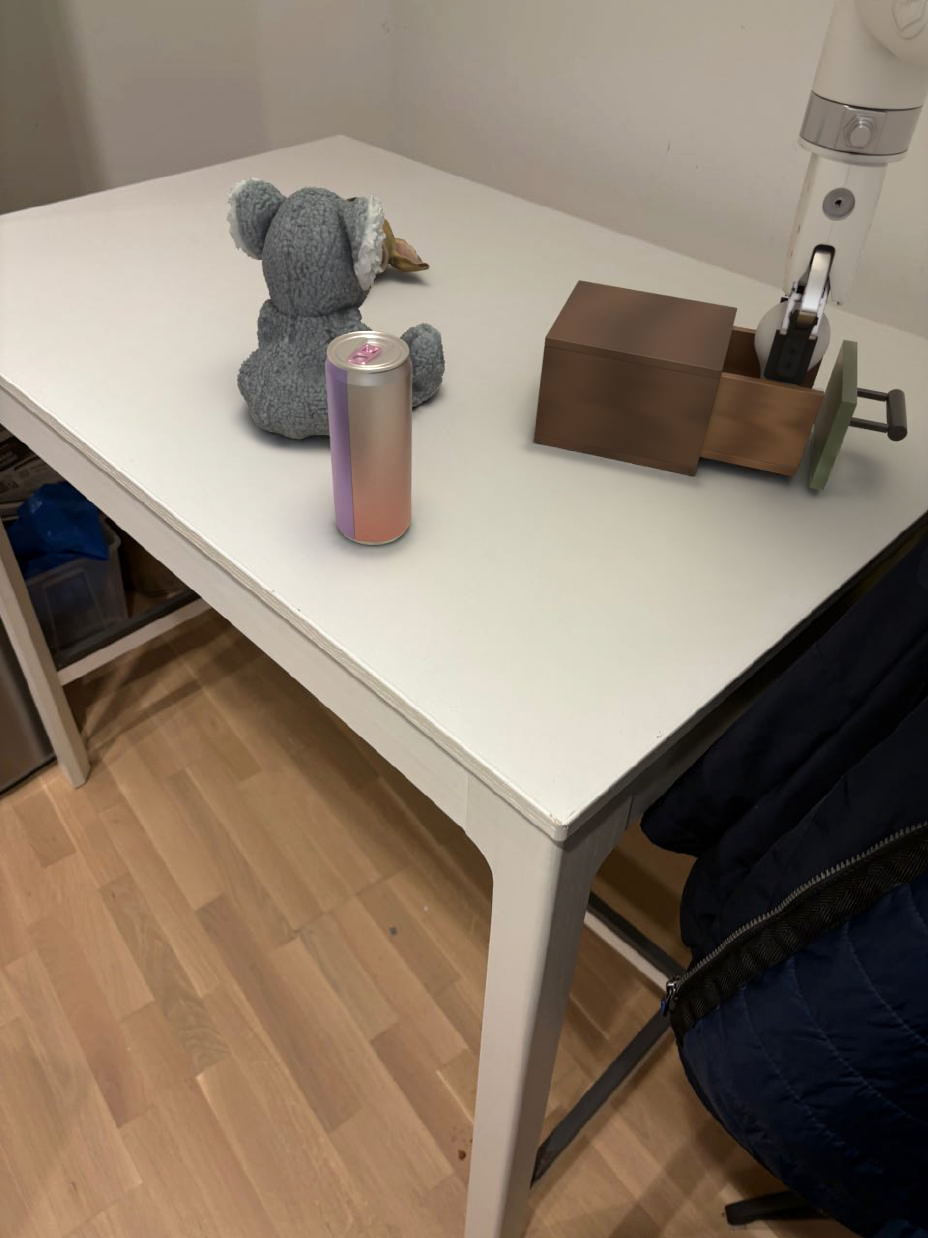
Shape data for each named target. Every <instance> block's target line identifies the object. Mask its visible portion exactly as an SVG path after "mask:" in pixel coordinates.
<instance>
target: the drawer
mask: <svg viewBox="0 0 928 1238" xmlns="http://www.w3.org/2000/svg"><path fill="white" fill-rule="evenodd" d="M755 333H756V329H754V328H749V327H743V326H739V325H733V329H732V333H731V337H730V341H729V345H728V350H727V354H726V358H725V362H724V366H723V370H722V374H721V378H720V382H719V386H718V389H717V393H716V397H715V401H714V404H713V408H712V412H711V416H710V419H709V423H708V427H707V431H706V435H705V438H704V442H703V446H702V450H701V453H700V457H699V458H704V459H709V460H713V461H717V462H723V463H727V464H731V465H737V466H742V467H745V468H751V469H757V470H762V471H766V472H770V473H776V474H781V475H785V476H790V477H796V475H797V473H798V469H799V466H800V464H801V461H802V459H803V456H804V452H805V450H806V447H807V445H808V441H809V439H810V436H811V433H812V445H811V460H810V471H809V472H810V473H809V485H808V486H809V488H810V489H813V490H818V491H824V490H825V488H826V486H827V483H828V480H829V478H830V475H831V473H832V470H833V468H834V466H835V465H834V464H835V462H836V460H837V457H838V454H839V452H840V450H841V446H842V444H843V442H844V439H845V437H846V434H847V432H848V429H849V427H851V428H857V429H860V430H867V431H873V432H877V433H883V434H886V435H887V438H888V439H889V440H891V441H892V442H900V441H903V440H904V439H906V437H907V436H908V433H909V432H908V420H907V419H908V418H907V406H906V394H905V392H904V391H903V390H901V389H900V388H893V389H891V390H889V391H887V392H884V391H878V390H873V389H868V388H862V387H858V351H859V349H858V347H859V346H858V341H854V340H849V339H842V343H841V346H840V348H839V351H838V353H837V357H836V359H835V362H834V364H833V365H834V366H833V367H832V371H831V374H830V376H829V379H828V381H827V382H828V383H827V385H826V388H825V390H820V389H815V388H814V385H815V382H816V380H817V377H818V373H819V371H820V369H821V365H822V362H823V359H824V356H823V357H822V359H821V360H820V361H819V362H818V363H817V364H816V365H815V366H814V367H812V368H811V369H810V370H809V371H807V374H806V377H805V380H804V382H803V383H802V384H801V385H797V386H794V385H789V384H784V383H778V382H773V381H768V380H762V379H760V374H761V366H760V362H759V359H758V356H757V353H756V350H755V342H754V340H755ZM858 398H862V399H867V400H871V401H877V402H883V403H885V413H886V416H885V417H886V423H885V422H879V421H876V420H875V421H874V420H869V419H864V418H859V417H853V416H854V413H855V410H856V408H857V405H858ZM812 430H813V432H812Z"/></svg>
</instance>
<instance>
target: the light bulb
mask: <svg viewBox="0 0 928 1238" xmlns="http://www.w3.org/2000/svg"><path fill="white" fill-rule="evenodd" d="M787 302H788V301H785V302H782V303H780V302H779V303H777V304H776V305H774V306H773V307H771V308H770V309H769V310H768V311H766V312H765V313H764V315H763V316H762V317H761V319H760V320H759V322H758V324H757V326H756V329H755V330H756V333H755V340H754V342H755V350H756V353H757V356H758V359H759V362H760V366H761V374H760V379H762V380H768V381H773V382H778V383H784V384H789V385H794V386H797V385H796V384H790V383H785V382H780V381H774V380H769V379H766V378H765V377H764V370H765V367H766V363H767V360H768V357H769V353H770V350H771V346H772V343H773V339H774V336H775V333H776V329H778V330H780V328H781V324H782V321H783V317H784V313H785V310H786V306H787ZM800 304H801V302H795V306H794V309H793V312H794V311H795V309H797V310H799V306H800ZM831 331H832V330H831V325H830V321H829V318H828V317H827V315H826V313H825V312H824V313H823V316H822V320H821V323H820V326H819V330H818V333H817V336H818V340H817V343H816V346H815V349H814V352H813V355H812V359H811V362H810V365H809V368H808V371H809V370H810V369H811V368H812V367H814V366H815V365H816V364H817V363H818V362H819V361H820V360H821V359H822V357H823V358H824V356H825V355H826V352H827V350H828V349H829V346H830V342H831ZM822 360H823V359H822Z"/></svg>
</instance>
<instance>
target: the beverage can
mask: <svg viewBox="0 0 928 1238" xmlns="http://www.w3.org/2000/svg"><path fill="white" fill-rule="evenodd" d="M325 374H326V389H327V404H328V418H329V433H330V436H329V446H330V447H329V448H330V463H331V476H332V477H331V478H332V490H333V491H332V492H333V505H334V506H333V507H334V508H333V509H334V522H335V524H336V525H335V526H336V527H337V528H338V529H339V531H340V532H341V534H343V535H344V536H345V537H346V538H347V539H348V540H350V541H352V542H354V543H356V544H360V545H366V546H381V545H386V544H389V543H392V542H394V541H396V540H398V539H399V538H401V537H402V536H403V535H404V534H405V533H406V532H407V530H408V528H409V527H410V525H411V523H412V466H413V462H412V461H413V460H412V459H413V456H412V455H413V451H412V449H413V407H412V362H411V359H410V357H409V347H408V345H407V344H406V343H405V342H404V341H403V340H402V339H400V336H397V335H395V334H391V333H388V332H382V331H376V330H373V331H357V332H351V333H347V334H344V335H341V336H339V337H337V338H335V339H334V340H332V341H331V342H330V344H329V345H328V347H327V359H326V362H325Z"/></svg>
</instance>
